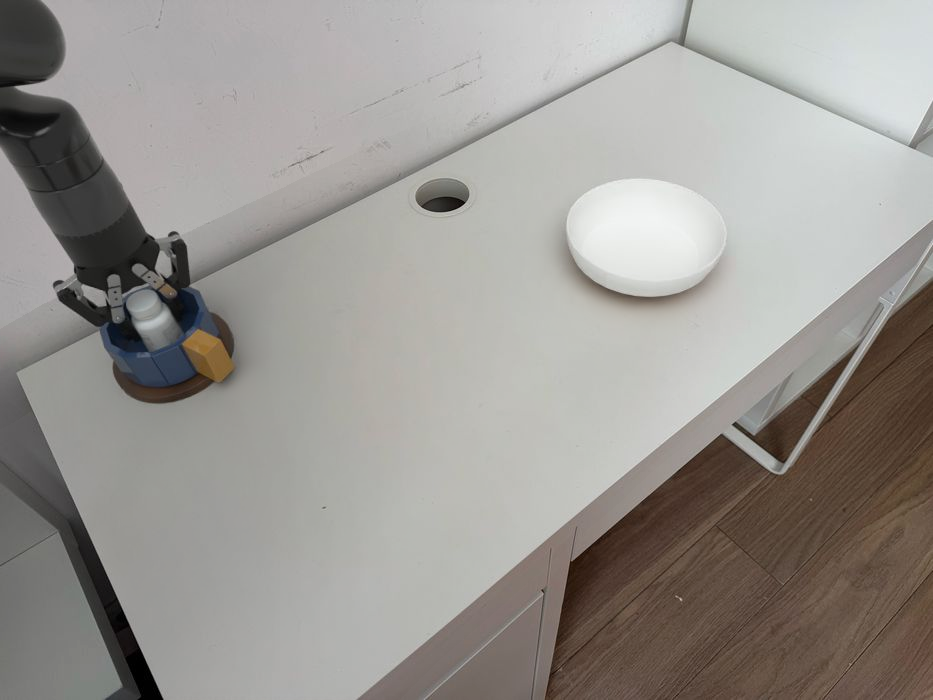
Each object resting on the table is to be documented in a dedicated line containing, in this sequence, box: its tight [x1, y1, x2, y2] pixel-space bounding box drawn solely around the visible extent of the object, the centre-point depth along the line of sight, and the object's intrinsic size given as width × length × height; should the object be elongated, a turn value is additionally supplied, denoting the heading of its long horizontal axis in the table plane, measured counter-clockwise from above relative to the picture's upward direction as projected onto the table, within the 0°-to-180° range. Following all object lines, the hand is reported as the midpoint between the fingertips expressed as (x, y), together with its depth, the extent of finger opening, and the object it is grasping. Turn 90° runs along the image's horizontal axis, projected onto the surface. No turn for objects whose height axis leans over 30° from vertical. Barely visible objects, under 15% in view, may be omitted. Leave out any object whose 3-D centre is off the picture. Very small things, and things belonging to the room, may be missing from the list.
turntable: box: [112, 311, 235, 404], centre depth 83 cm, size 14×14×1 cm
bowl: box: [565, 177, 728, 298], centre depth 87 cm, size 20×20×6 cm
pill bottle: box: [126, 290, 184, 352], centre depth 79 cm, size 4×4×8 cm
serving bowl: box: [99, 284, 235, 387], centre depth 80 cm, size 15×12×5 cm
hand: (157, 326), depth 79 cm, fingers closed on pill bottle, 4 cm apart
